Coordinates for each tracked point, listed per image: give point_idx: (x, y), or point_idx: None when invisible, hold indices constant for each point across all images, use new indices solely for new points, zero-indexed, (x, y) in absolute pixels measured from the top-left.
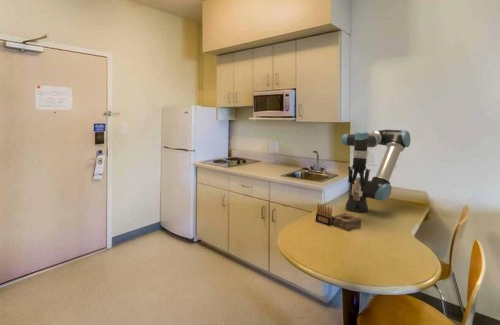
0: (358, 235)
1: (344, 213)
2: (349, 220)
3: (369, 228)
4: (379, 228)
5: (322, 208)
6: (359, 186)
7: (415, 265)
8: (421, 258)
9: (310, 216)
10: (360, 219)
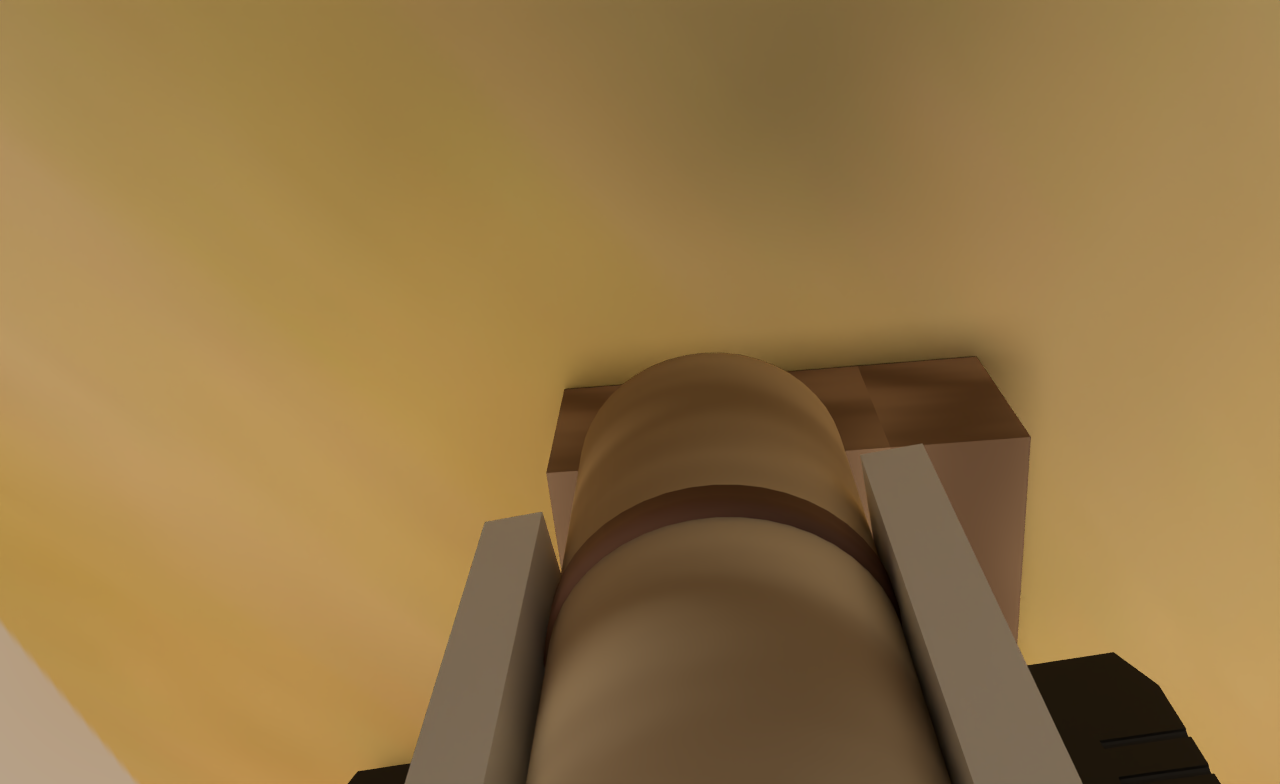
0: (1190, 670)
1: (555, 486)
2: None
3: (1122, 250)
4: (1261, 40)
5: None
6: None
7: None
8: None
9: (140, 737)
10: (1025, 461)
